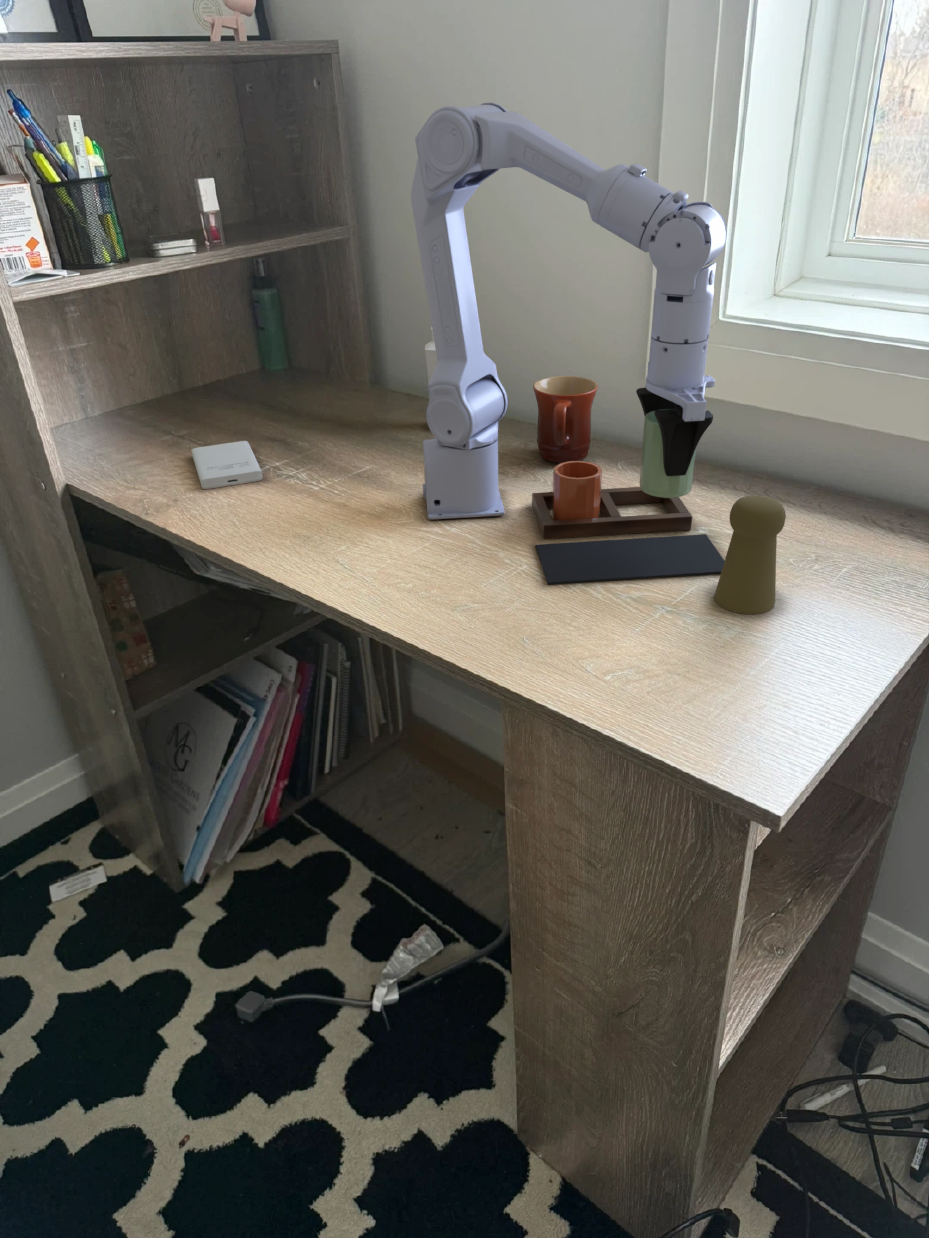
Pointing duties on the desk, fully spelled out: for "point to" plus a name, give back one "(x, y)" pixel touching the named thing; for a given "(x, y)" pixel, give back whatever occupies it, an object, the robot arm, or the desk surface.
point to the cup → (660, 465)
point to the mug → (564, 417)
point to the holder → (612, 516)
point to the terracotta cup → (576, 490)
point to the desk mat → (629, 559)
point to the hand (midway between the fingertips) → (667, 464)
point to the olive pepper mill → (751, 556)
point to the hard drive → (226, 465)
